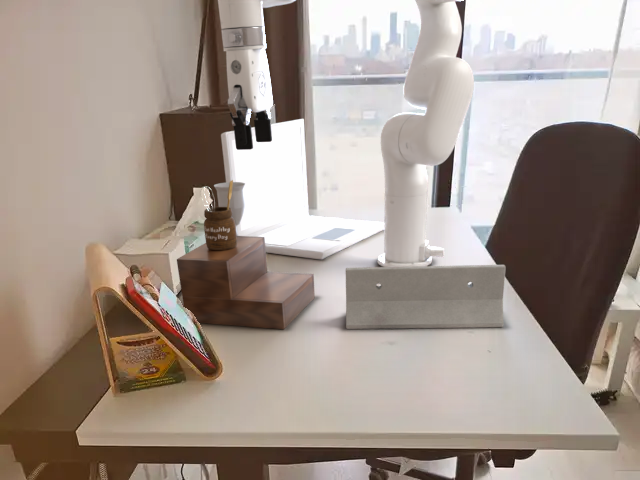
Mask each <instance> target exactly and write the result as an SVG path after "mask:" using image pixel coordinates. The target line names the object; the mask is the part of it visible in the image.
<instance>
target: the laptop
mask: <svg viewBox="0 0 640 480" xmlns="http://www.w3.org/2000/svg"><path fill="white" fill-rule="evenodd" d="M251 131H252V140H253V149H250V150H237V149H236V143H235V135H234V130H231V131H225V132H222V133H221V134H220V139H221V140H220V141H221V147H222V149H221V150H222V156H223V157H222V158H223V165H224V167H223V168H224V175H225V183H227V182H230V181H232V180H233V182H241V183H245V186H244V189H243V190H244V200H245V209H244V213H243V216H242V219H241V222H240V224H239V225H237V226H236V230H237V233H238V236H253V237H264V238H265V250H266V254H274V255H283V256H289V257H290V256H291V257H298V258H305V259H306V258H307V259H313V260H324V259H325V258H328V257H330V256H332V255H334V254H336V253H338V252H340V251H343V250H344V249H346V248H349V247H351V246H353V245H355V244H357V243H359V242H361V241H363V240H365V239H367V238H369V237H372V236H374V235H376V234H378V233H380V232H382V231H384V221H377V220H366V219H356V218H355V219H354V218H344V217H343V218H342V217H334V216H333V217H332V216H321V215H310V214H309V213H310V212H309V211H310V210H309V195H308V193H309V192H308V176H307V175H308V173H307V158H306V157H307V153H306V136H305V119H304V118H299V119H293V120H287V121H282V122H276V123H271V133H272V141H271V142H257V141H256V136H255V126H253V127H251Z"/></svg>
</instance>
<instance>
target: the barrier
mask: <svg viewBox="0 0 640 480" xmlns="http://www.w3.org/2000/svg"><path fill="white" fill-rule="evenodd" d="M506 269H507V268H506V265H505V264H473V265H472V264H471V265H470V264H469V265H468V264H466V265H465V264H463V265H428V266H412V267H383V266H371V267H370V266H369V267H368V266H367V267H364V266H363V267H346V268H345V329H347V330H356V329H357V330H361V329H362V330H368V329H369V330H370V329H371V330H375V329H377V330H381V329H385V330H386V329H453V328H454V329H455V328H457V329H461V328H462V329H464V328H467V329H468V328H504V292H505V282H506V281H505V280H506ZM469 283H470V284H469Z"/></svg>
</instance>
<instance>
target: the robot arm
mask: <svg viewBox="0 0 640 480" xmlns="http://www.w3.org/2000/svg"><path fill="white" fill-rule="evenodd" d="M296 1H297V0H217V4H218V12H219V22H220V30H221V31H220V32H221V40H222V47H223V52H225V55H226V56H225V59H226V79H227V90H228V98H227V107H228V110H229V115H230V118H231V124H232V127H233V131H234V135H235V143H236V149H237V150H250V149H253V140H252V131H251V128H252V125H251V124H250V118H251V114H253V115H254V117H255V119H253V125H254V126H253V127H255V136H256V141H257V142H271V141H272V133H271V124H272V122H271V118H272V117H271V112H270V109H271V108H272V107H273V106H274V105H273V104H274V100H273V91H272V83H271V76H270V68H269V63H268V58H267V53H266V49H267V43H266V34H265V33H266V32H265V21H264V9H267V8H272V7H276V6H277V7H278V6H283V5H290V4H292V3H294V2H296ZM414 1H415V3H416V6H417V9H418V12H419V16H420V29H419V34H418V38H417V42H416V45H415V49H414V51H413V55H412V57H411V61H410V64H409V67H408V69H407V73H406V76H405V79H404V83H403V89H402V91H403V98H404V100H405V102H406V103H407V104H408V105H410V106H411V107H413V108H417V109H421V110H424V111H425V112H424V113H419V112H417V113H416V112H402V113H397V114H395V115H393V116H391V117H390V118H389V119H388V120H387V121H386V122H385V124H383V127H382V129H381V133H380V150H381V156H382V161H383V170H384V171H383V172H384V173H383V174H384V217H383V218H384V221H383V222H384V230H383V232H384V236H383V237H384V240H383V241H384V242H383V245H384V246H383V252H384V253H382V254H380V255H378V256H377V264H378V265H379V266H380V267H412V266H430V265H431V264H432V261H433V257H434V258H443V259H444V258H445V251H446V250H445V248H442V247H441V246H431V245H430V244H429V243H430V241H429V240H427V224H428V223H427V222H428V221H427V219H428V217H427V216H428V193H429V178H428V172H427V169H426V166H427V167H429V166H430V167H433V166H434V167H435V166H438V165H441V164H443V163H444V162H445V161H446V160H448V158H449V157H450V156H451V154H452V153H453V151H454V149H455V146H456V144H457V141H458V138H459V136H460V133H461V130H462V128H463V125H464V121H465V119H466V116H467V114H468V111H469V108H470V104H471V101H472V98H473V95H474V88H475V77H474V71H473V69H472V67H471V66H470V64H469V62H467V61H466V60H464V59H462V58H460V57H457V54H458V51H459V48H460V43H461V40H462V33H463V26H462V19H461V15H460V13H459V9H458V6H457V4H456V2H461V1H463V0H414ZM251 111H252V113H251Z"/></svg>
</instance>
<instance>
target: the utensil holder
mask: <svg viewBox="0 0 640 480" xmlns="http://www.w3.org/2000/svg"><path fill="white" fill-rule="evenodd" d="M232 186H233V180H232V181H230V184H229V190H228V197H227V198H228V204H227V207H219V206H216V201H215V199H214V200H213V202H214V206H213V205H211V206H212V207H210V206H209V205H206V204H205V203H204V199H203V196H204V197H205V201H206V203H208V201H207V198H206V194H205V193H203V194H204V195H203V196H202V195H200V197H201V200H202V203H203V205H204V207H205V208H206V209H204V212H203V216H204V218H205V220H204V222H203V228H204V229H203V230H204V238H205V243H206V245H207V248H208V249H210V250H215V251H222V250H229V249H233V248H235V247H236V246H237V233H236V225H235V221H234V219H233V218H232V217H231V216H232V214H233V213H232V209H231V208H230V207H229V204H230V199H231V195H232ZM202 189H203V191H202ZM209 189H210V187H209V186H207V188H206V190H207V192H208V196H209V199H210V203H211V204H213V202H212V198H211V197H213V198H215V196H214V193H213V190H212V189H210V190H211V192H212V196H211V194H210V192H209ZM200 191H202V192H205V186H202V188H201V189H200ZM207 206H208V208H207Z"/></svg>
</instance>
